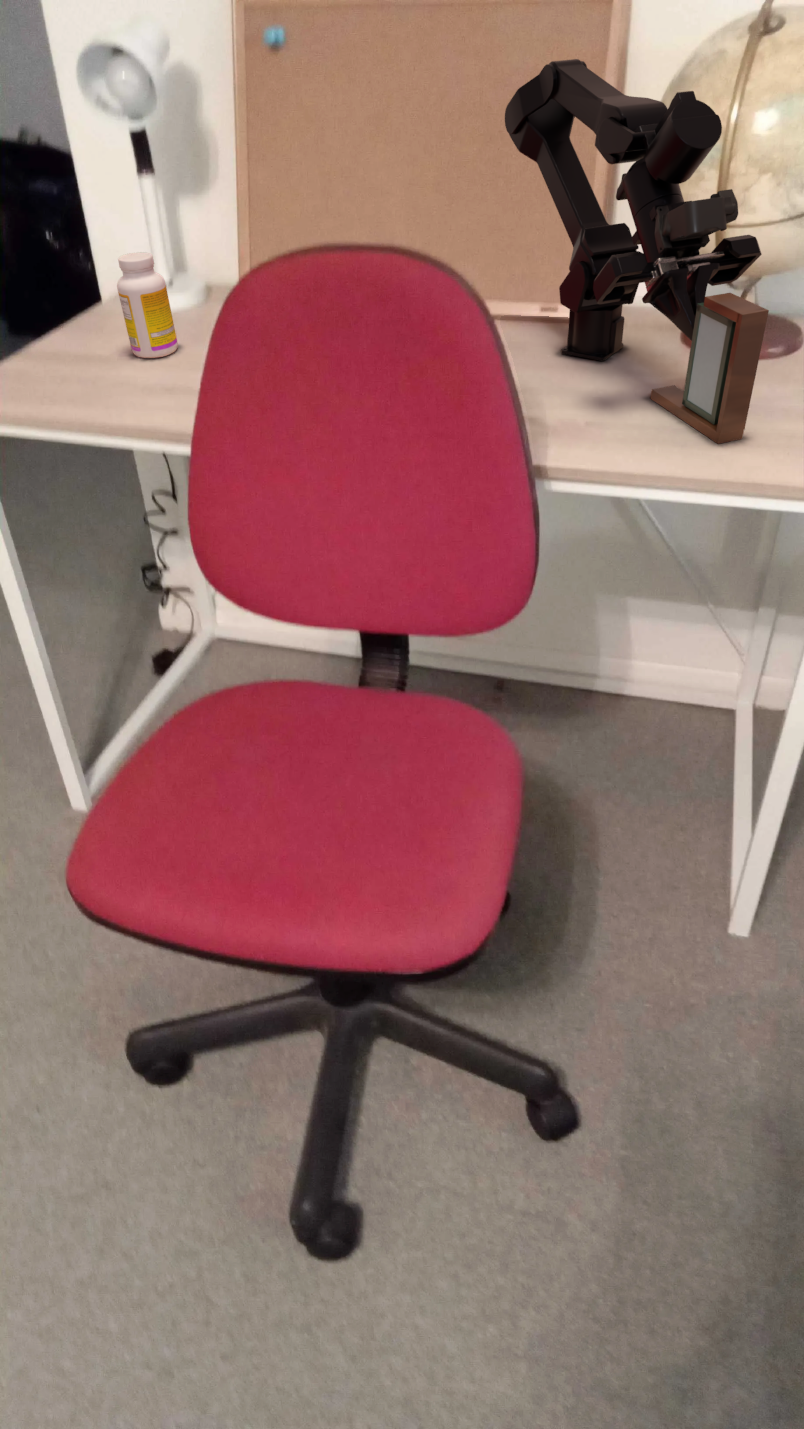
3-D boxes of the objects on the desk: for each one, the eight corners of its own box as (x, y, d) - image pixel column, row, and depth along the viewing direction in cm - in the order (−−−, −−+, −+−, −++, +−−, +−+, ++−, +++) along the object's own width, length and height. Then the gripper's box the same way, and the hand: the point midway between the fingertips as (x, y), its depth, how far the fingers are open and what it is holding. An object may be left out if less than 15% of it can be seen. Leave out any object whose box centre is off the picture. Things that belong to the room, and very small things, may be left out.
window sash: (681, 404, 110) (697, 303, 103) (687, 402, 110) (703, 302, 103) (713, 425, 105) (732, 320, 98) (719, 423, 106) (739, 319, 98)
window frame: (650, 398, 115) (666, 278, 106) (672, 394, 116) (690, 274, 107) (718, 444, 104) (742, 314, 95) (742, 439, 105) (769, 310, 96)
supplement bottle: (185, 344, 138) (167, 250, 129) (168, 360, 133) (148, 263, 124) (143, 343, 139) (123, 249, 131) (124, 358, 134) (102, 262, 126)
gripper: (616, 172, 97) (658, 313, 96) (769, 153, 101) (811, 287, 100) (575, 238, 108) (612, 365, 107) (714, 217, 112) (752, 340, 111)
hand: (697, 339), depth 106 cm, fingers closed
